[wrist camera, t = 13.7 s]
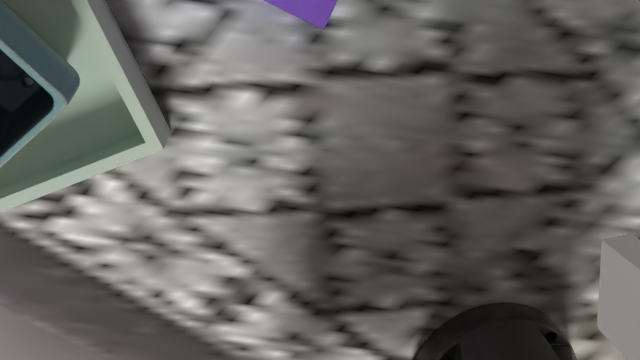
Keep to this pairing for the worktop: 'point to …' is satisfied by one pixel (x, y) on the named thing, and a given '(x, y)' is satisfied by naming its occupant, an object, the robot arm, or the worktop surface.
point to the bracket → (307, 9)
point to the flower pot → (29, 100)
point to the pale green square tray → (84, 104)
